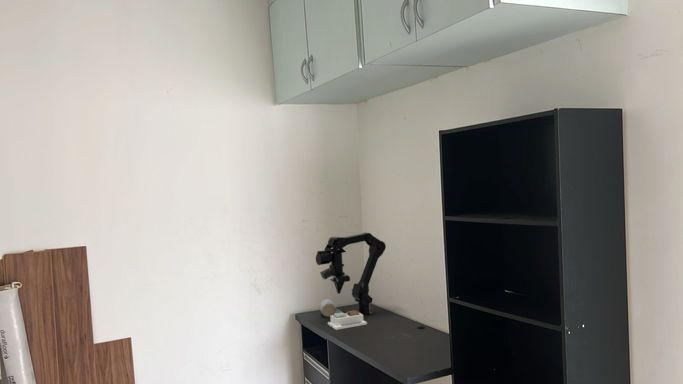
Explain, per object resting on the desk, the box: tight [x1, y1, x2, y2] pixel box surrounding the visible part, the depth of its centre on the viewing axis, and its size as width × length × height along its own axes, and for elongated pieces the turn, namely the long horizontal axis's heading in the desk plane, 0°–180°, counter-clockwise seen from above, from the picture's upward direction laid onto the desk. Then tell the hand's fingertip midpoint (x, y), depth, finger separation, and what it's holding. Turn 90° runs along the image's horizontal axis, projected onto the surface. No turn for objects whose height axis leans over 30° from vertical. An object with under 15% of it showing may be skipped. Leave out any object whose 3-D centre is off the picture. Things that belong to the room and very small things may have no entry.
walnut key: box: [346, 309, 359, 316], centre depth 266 cm, size 4×4×3 cm
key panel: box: [327, 312, 368, 331], centre depth 263 cm, size 11×16×4 cm
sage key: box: [334, 311, 346, 318], centre depth 264 cm, size 4×4×3 cm
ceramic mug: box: [319, 299, 342, 318], centre depth 282 cm, size 11×8×8 cm
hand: (338, 293), depth 273 cm, fingers closed
